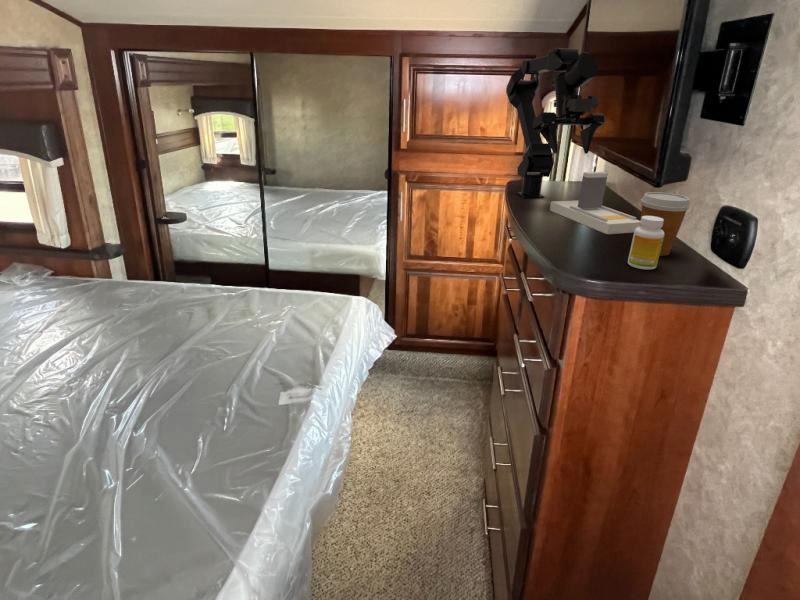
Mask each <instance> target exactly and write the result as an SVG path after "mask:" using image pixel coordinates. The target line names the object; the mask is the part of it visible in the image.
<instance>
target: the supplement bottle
mask: <svg viewBox="0 0 800 600" xmlns="http://www.w3.org/2000/svg"><path fill="white" fill-rule="evenodd" d="M639 221H640V224H641V226H640V227H637V228H636V229H635V231H634V232H633V236H632V240H631V245H630V250H629V253H628V259H627V264H628V265H629V266H630V267H632V268H636V269H639V270H649V271H650V270H654V269H656V268H657V267H658V263H659V258H660V256H659V255H660V251H661V247H662V243H663V239H664V231H663V230H661V227H662V226H663V222H664V219H662V218H660V217H655V216H642V217H641V216H640V220H639Z"/></svg>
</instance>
